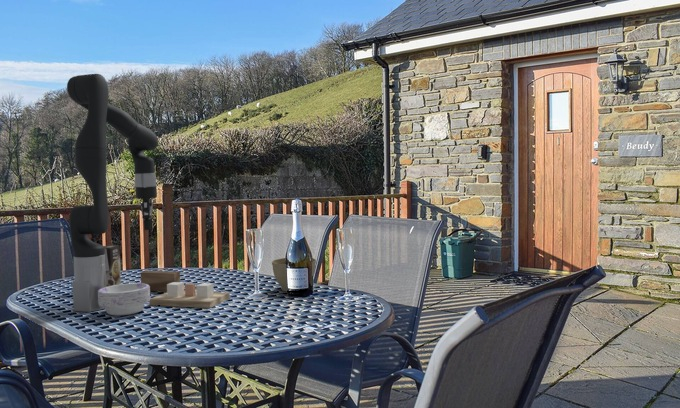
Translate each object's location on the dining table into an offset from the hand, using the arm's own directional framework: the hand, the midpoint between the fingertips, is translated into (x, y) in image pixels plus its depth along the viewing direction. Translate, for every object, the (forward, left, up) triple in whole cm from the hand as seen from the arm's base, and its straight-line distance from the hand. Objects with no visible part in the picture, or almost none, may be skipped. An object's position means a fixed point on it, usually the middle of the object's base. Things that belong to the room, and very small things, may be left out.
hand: (148, 228), depth 209 cm
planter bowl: (+8, -55, -23) cm, 60 cm away
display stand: (-17, -27, -23) cm, 39 cm away
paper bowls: (-34, -14, -23) cm, 43 cm away
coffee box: (-3, +16, -23) cm, 28 cm away
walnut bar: (-2, -6, -23) cm, 24 cm away
